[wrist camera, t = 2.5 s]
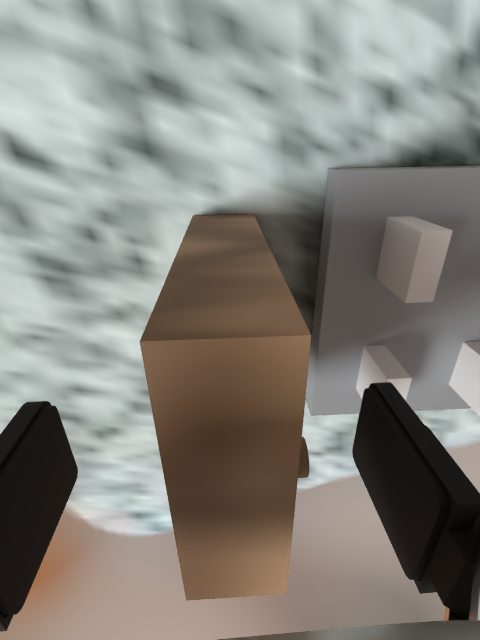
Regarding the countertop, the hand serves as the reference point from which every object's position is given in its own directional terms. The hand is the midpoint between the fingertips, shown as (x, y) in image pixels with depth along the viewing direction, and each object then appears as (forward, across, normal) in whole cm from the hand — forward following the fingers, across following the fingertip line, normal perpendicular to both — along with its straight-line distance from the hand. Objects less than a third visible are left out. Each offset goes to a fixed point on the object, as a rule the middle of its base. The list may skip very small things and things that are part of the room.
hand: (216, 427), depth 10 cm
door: (+9, -1, 0) cm, 9 cm away
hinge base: (+9, -12, 0) cm, 15 cm away
